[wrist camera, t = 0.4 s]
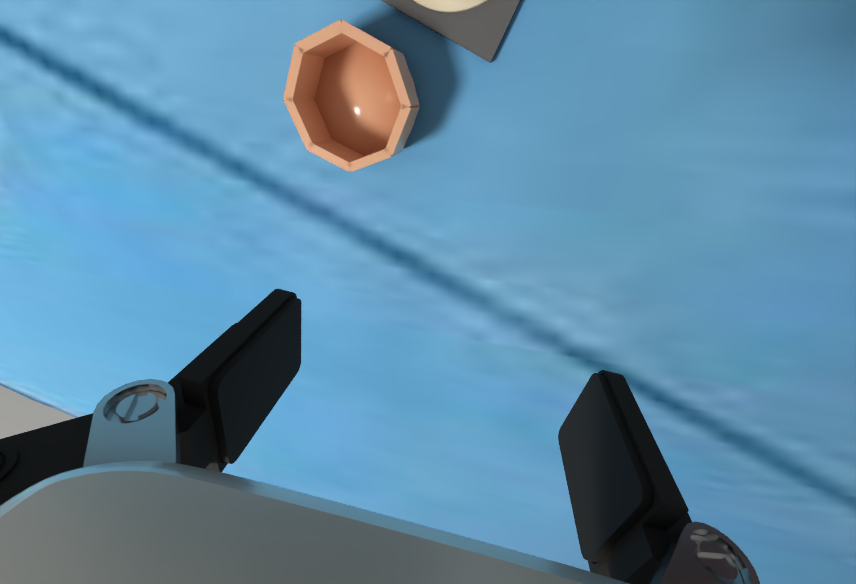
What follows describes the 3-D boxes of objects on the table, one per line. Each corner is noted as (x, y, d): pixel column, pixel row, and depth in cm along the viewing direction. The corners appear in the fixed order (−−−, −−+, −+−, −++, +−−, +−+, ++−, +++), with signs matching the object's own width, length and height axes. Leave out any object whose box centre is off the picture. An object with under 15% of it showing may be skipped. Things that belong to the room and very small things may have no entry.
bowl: (330, 13, 31) (304, -2, 27) (435, 71, 32) (427, 67, 28) (302, 129, 36) (275, 133, 32) (392, 177, 37) (379, 187, 33)
